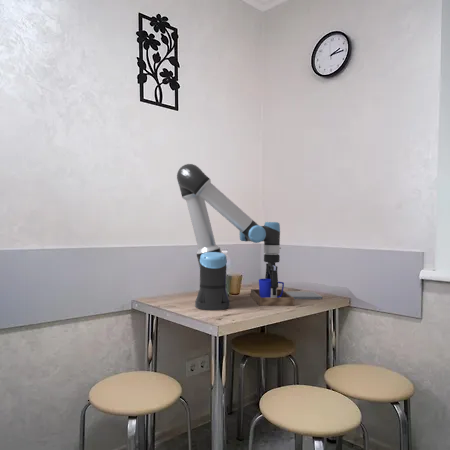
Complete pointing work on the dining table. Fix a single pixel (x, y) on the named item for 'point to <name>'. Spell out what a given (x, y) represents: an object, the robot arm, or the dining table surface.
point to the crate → (273, 299)
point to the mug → (267, 288)
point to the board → (304, 295)
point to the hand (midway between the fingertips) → (271, 299)
